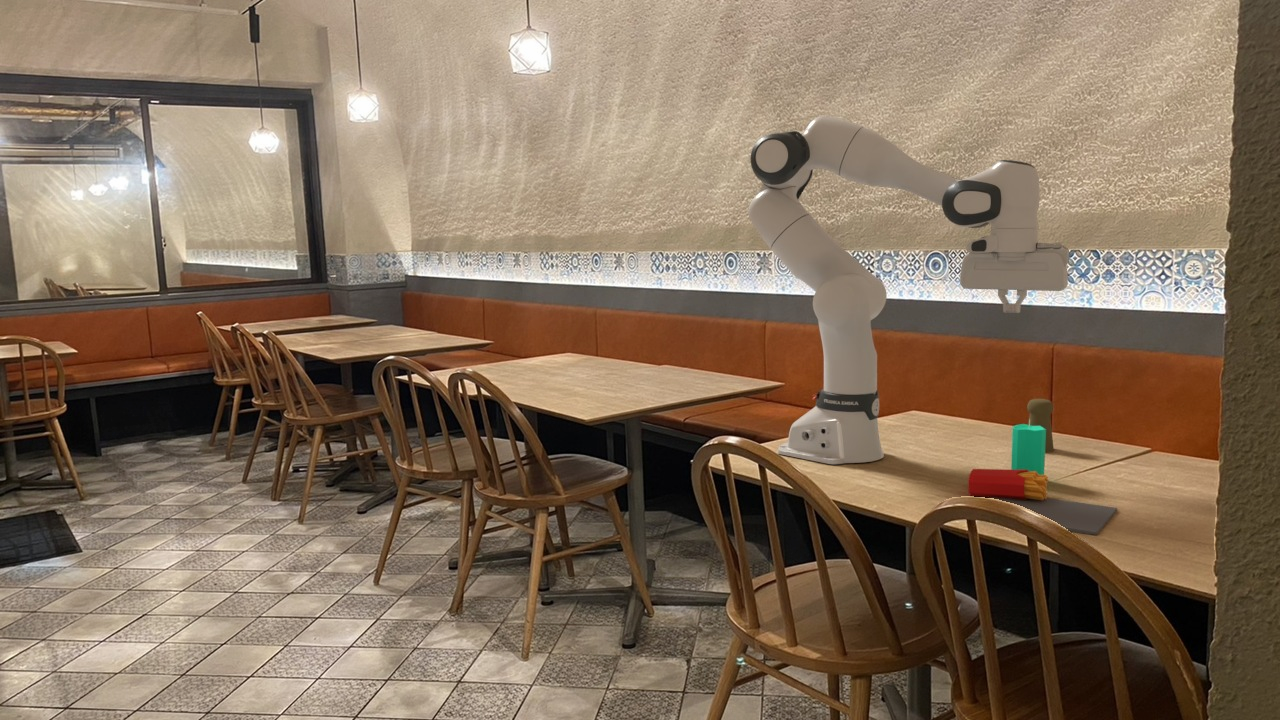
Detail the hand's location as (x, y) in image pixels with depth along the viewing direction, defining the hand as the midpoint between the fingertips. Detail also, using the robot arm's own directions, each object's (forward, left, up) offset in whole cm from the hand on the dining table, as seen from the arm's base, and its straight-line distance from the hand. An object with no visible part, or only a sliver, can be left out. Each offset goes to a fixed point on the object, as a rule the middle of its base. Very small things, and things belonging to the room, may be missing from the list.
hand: (1011, 312), depth 198 cm
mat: (+15, -31, -31) cm, 46 cm away
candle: (+7, -11, -31) cm, 34 cm away
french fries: (+1, -25, -29) cm, 39 cm away
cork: (+2, +17, -31) cm, 36 cm away
